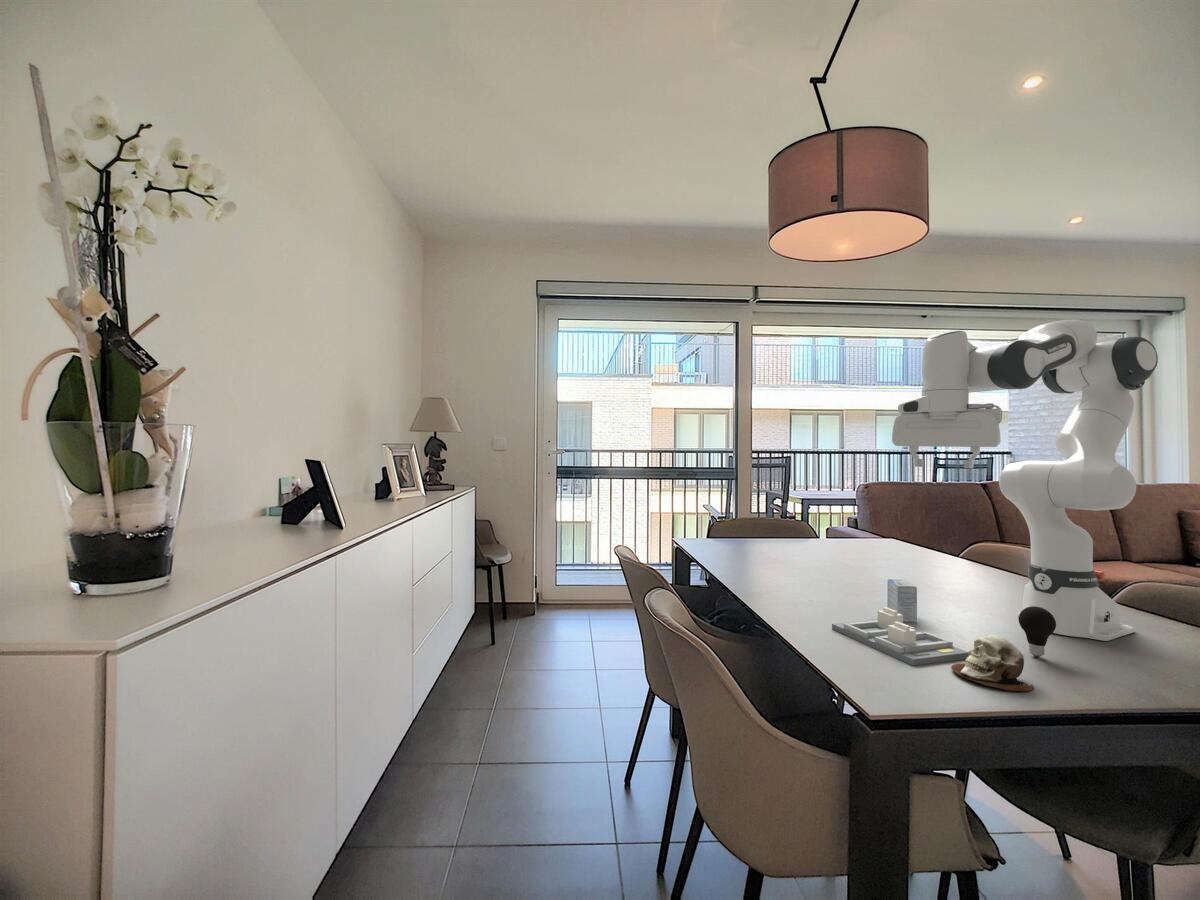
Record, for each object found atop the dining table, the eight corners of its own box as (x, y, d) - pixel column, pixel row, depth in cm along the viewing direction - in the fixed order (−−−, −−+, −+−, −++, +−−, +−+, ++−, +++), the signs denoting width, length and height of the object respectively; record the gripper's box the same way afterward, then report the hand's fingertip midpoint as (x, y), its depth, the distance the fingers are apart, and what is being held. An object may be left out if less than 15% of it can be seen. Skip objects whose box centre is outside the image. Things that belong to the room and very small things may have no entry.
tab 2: (899, 641, 114) (899, 620, 114) (915, 647, 110) (915, 626, 110) (887, 642, 113) (888, 621, 113) (903, 649, 109) (904, 627, 109)
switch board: (831, 629, 125) (832, 619, 125) (881, 624, 129) (881, 614, 129) (912, 665, 104) (912, 654, 104) (968, 658, 108) (969, 647, 108)
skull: (990, 690, 91) (959, 631, 98) (957, 710, 99) (931, 654, 106) (1057, 686, 92) (1022, 628, 99) (1020, 707, 100) (990, 651, 107)
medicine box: (917, 623, 130) (917, 586, 130) (897, 621, 131) (897, 585, 131) (905, 613, 138) (906, 579, 138) (886, 612, 139) (887, 578, 139)
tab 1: (888, 625, 124) (888, 606, 124) (902, 631, 120) (902, 611, 120) (877, 626, 123) (877, 607, 123) (891, 632, 119) (892, 612, 119)
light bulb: (1046, 664, 105) (1047, 612, 105) (1011, 654, 110) (1012, 604, 110) (1061, 659, 108) (1062, 609, 108) (1027, 650, 113) (1027, 601, 113)
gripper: (1004, 404, 116) (1003, 469, 116) (898, 407, 130) (897, 465, 130) (1000, 401, 112) (998, 469, 112) (890, 405, 126) (889, 466, 126)
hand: (943, 467), depth 121 cm, fingers open, 8 cm apart
